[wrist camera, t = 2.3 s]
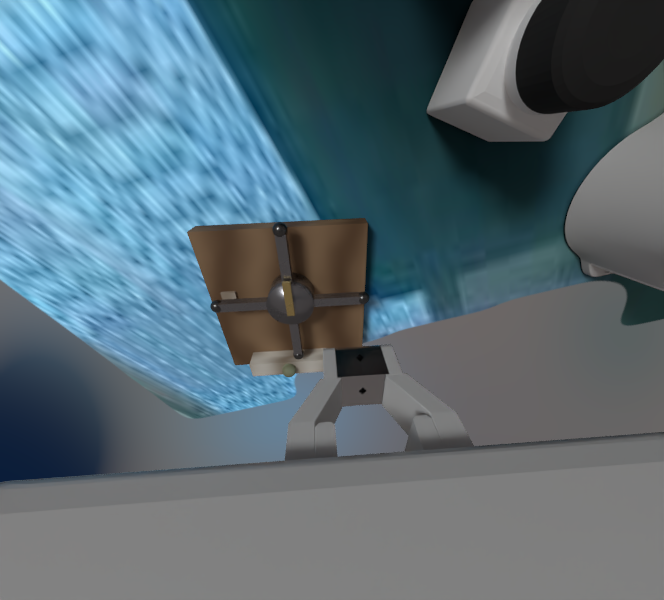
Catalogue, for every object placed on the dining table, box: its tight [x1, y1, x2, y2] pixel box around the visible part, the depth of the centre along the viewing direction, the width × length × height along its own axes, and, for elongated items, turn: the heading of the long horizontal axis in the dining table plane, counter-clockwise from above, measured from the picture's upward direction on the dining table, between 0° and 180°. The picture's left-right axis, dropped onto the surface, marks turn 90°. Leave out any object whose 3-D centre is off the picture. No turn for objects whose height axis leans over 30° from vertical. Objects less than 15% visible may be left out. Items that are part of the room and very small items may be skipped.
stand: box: [187, 218, 368, 377], centre depth 29 cm, size 18×19×5 cm
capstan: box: [211, 222, 369, 360], centre depth 27 cm, size 17×17×3 cm
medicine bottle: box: [427, 0, 664, 142], centre depth 16 cm, size 7×7×12 cm
